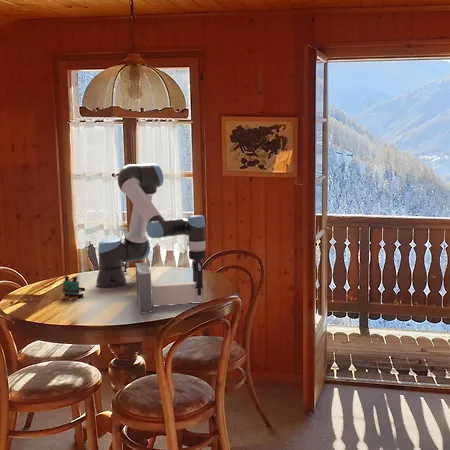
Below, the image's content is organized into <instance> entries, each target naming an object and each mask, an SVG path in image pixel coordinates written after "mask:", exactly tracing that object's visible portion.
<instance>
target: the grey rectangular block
mask: <svg viewBox="0 0 450 450" xmlns="http://www.w3.org/2000/svg"><path fill="white" fill-rule="evenodd" d="M195 287H196V282H193V281H187V282H186V281H183V282H165V283H151V299H152V304H153V305H152V307H155V306H154V305H168V306H170V305H169V304H183V303H192V302H196V288H195ZM202 302H204V303H205V282H203V288H202ZM183 305H184V304H183Z"/></svg>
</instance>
